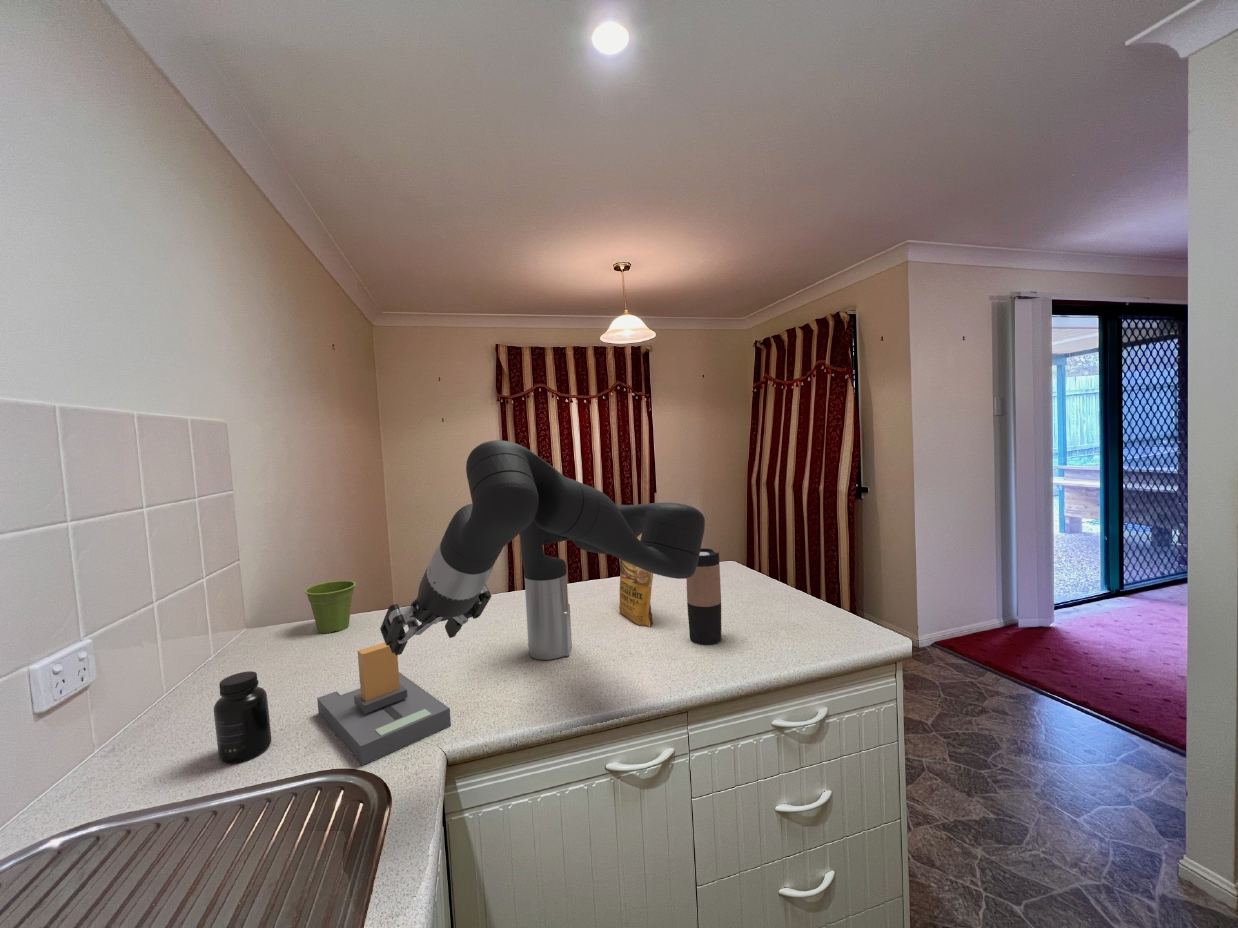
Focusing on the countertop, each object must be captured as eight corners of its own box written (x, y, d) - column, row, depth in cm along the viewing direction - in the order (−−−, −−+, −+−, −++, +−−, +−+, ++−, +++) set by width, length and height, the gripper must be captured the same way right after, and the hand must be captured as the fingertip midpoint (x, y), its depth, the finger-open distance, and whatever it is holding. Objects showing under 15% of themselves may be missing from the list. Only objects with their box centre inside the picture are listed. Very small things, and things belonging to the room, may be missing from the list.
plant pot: (300, 640, 129) (296, 595, 128) (316, 623, 140) (313, 582, 140) (352, 633, 131) (349, 590, 131) (364, 618, 143) (361, 578, 142)
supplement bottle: (236, 740, 85) (230, 669, 84) (280, 737, 85) (274, 665, 85) (207, 767, 78) (200, 689, 77) (255, 762, 79) (248, 685, 78)
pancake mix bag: (633, 604, 144) (629, 504, 143) (668, 625, 127) (663, 512, 126) (611, 608, 141) (606, 507, 140) (644, 631, 124) (638, 515, 123)
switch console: (318, 714, 92) (317, 696, 92) (397, 685, 102) (396, 669, 102) (362, 765, 77) (360, 744, 76) (450, 725, 86) (449, 706, 86)
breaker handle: (354, 703, 88) (350, 649, 88) (395, 688, 93) (392, 637, 93) (364, 713, 85) (360, 657, 84) (407, 697, 90) (403, 644, 89)
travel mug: (684, 643, 116) (681, 555, 115) (693, 630, 123) (689, 547, 122) (719, 647, 113) (715, 556, 112) (725, 634, 120) (722, 548, 119)
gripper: (413, 612, 59) (381, 681, 68) (517, 583, 70) (478, 647, 78) (391, 561, 63) (363, 633, 72) (494, 540, 73) (459, 605, 82)
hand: (423, 640), depth 75 cm, fingers open, 7 cm apart
